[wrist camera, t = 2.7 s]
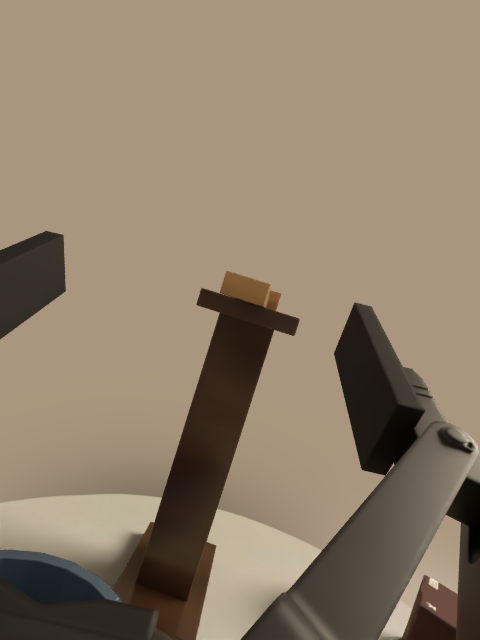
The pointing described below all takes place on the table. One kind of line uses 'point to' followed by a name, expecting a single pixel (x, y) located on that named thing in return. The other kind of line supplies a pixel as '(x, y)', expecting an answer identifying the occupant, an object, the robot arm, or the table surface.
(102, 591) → the bowl
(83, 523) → the table surface
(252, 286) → the wooden mallet
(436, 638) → the box
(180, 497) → the spoon stand
